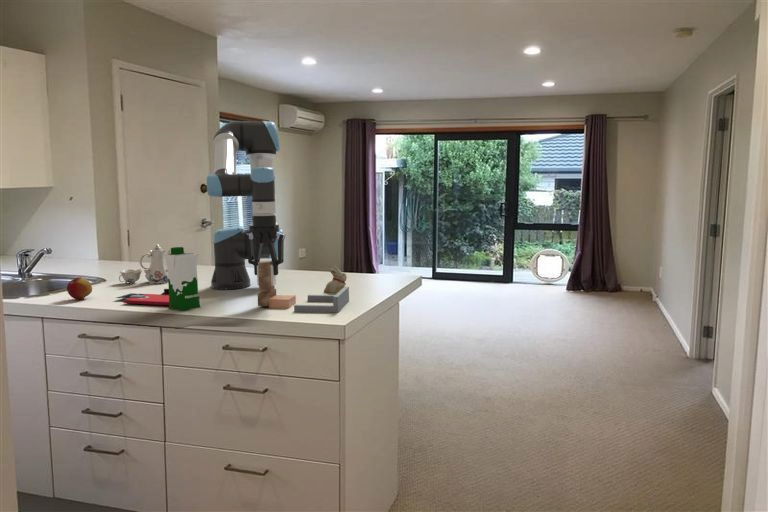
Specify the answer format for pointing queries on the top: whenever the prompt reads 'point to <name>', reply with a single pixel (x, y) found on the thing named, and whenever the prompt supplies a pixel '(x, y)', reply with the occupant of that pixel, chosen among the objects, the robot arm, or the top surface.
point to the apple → (79, 288)
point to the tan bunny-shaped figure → (336, 281)
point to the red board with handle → (147, 298)
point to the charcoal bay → (338, 300)
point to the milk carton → (182, 279)
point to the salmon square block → (282, 301)
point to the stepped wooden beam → (265, 283)
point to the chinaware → (150, 268)
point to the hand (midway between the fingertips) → (266, 284)
